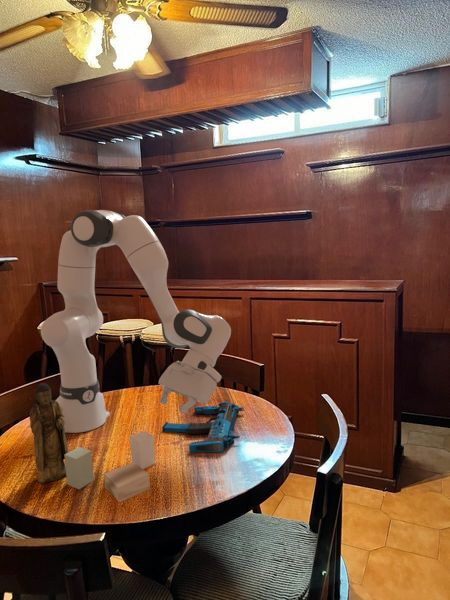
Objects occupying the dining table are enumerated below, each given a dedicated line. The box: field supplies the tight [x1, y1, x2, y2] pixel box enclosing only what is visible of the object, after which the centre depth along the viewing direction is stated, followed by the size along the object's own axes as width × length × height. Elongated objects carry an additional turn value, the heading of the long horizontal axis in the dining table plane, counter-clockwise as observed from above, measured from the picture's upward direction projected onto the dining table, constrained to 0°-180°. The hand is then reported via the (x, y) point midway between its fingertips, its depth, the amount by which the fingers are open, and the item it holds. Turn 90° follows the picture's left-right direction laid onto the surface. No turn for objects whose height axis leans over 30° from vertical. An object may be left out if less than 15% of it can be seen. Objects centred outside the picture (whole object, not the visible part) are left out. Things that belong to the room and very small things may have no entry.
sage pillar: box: [64, 446, 95, 490], centre depth 108 cm, size 4×4×8 cm
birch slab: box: [103, 461, 151, 503], centre depth 105 cm, size 8×8×4 cm
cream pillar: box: [129, 430, 156, 470], centre depth 116 cm, size 4×4×8 cm
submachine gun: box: [161, 398, 245, 453], centre depth 138 cm, size 34×4×25 cm
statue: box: [29, 382, 69, 485], centre depth 109 cm, size 9×9×25 cm
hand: (171, 407), depth 121 cm, fingers open, 8 cm apart
